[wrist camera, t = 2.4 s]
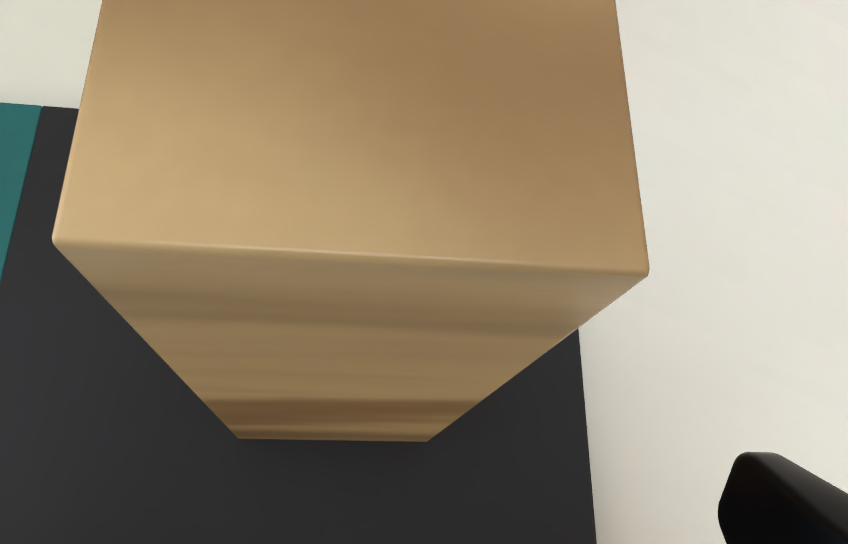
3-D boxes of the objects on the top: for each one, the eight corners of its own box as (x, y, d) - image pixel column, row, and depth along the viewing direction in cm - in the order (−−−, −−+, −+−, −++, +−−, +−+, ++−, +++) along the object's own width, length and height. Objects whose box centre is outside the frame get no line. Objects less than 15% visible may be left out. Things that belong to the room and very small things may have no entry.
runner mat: (598, 624, 17) (604, 627, 17) (-850, 657, 13) (-884, 661, 13) (559, 153, 22) (563, 146, 22) (-503, 69, 18) (-520, 60, 18)
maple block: (428, 442, 18) (653, 275, 6) (236, 439, 17) (47, 242, 5) (427, 268, 20) (599, -136, 8) (254, 258, 19) (142, -199, 7)
